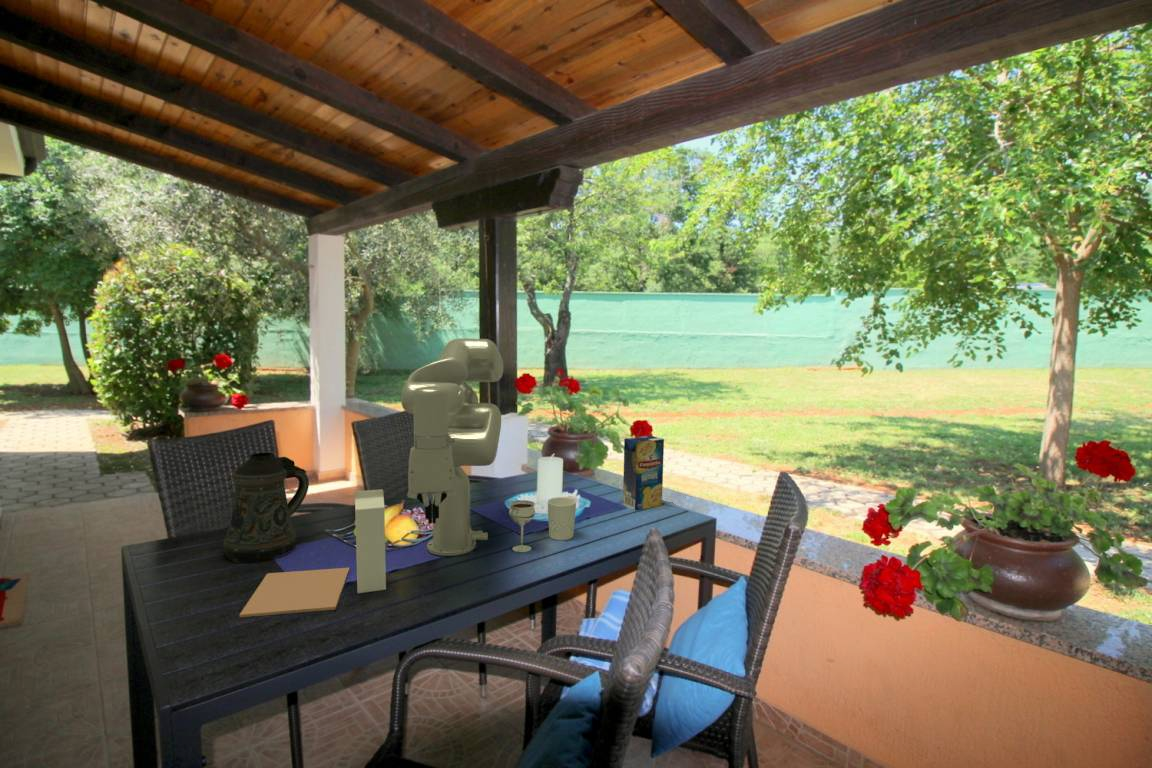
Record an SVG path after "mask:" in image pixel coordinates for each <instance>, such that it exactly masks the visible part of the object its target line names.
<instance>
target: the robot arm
mask: <svg viewBox="0 0 1152 768" xmlns="http://www.w3.org/2000/svg"><path fill="white" fill-rule="evenodd" d="M503 361H504V360H503V358H502V355H501V353H500V351H499V348H498V347H497V345H496V343H495V342H494V341H492V340H491V339H488V338H454V339H452V340H450V341H448V342H447V343H446V345H445V346H444V348H443V350H442V352H441V353H440V356H439V358H438V359H437V360H435V361H433V362H431V363H429V364H427V365H423V366H422V367H419V368H418V369H416V370H414V371H412V373H411V374H409V376H408V378H407V379H406V381H405V383H404V385H403V388H402V390H401V394H400V403H401V407H402V408H403V410H404V411H405V412H406V413H407V414H411V415H413V446H412V447H411V448H410V451H409V457H408V471H407V472H408V479H407V481H408V482H407V484H408V485H407V486H408V490H407V494H406V496H407V497H408V498H410V499H413V500H414V499H416V500H418V501H419V502H420V503H422V504H423V506H424V509H425V511H424V514H425V518H424V519H425V520H428V524H429V525H430V524H432V539H431V540H429V541H428V542H427V545H426V549H427V551H428V552H429V553H431V554H433V555H436V556H442V557H455V556H460V555H461V556H462V555H465V554H468V553H470V552H472V551H474V549H476V547H477V542H476V541H488V540H489V538H488V537H489V536H488V532H483V530H477V531H476V530H475V531H474V529H473V530H472V525H471V485H470V483H471V482H470V479H469V476H468V475H467V473H466V471H465V470H464V469H463V468H462V467H464V466H465V467H485V466H487V467H488V466H490V465H492V464H493V463H494V462H495V460H496V458H497V453H498V448H499V443H500V442H499V441H500V435H501V428H502V413H501V411H500V408H499V407H498V406H497V405H496V404H493V403H490V402H489V403H488V402H479V397H478V394H477V393H476V391H475V390H474V389H473V388H472V387H471V385H469V384H468V383H471V382H472V383H495V382H498V381H500V379H501V378H502V377H503V374H504V362H503ZM430 494H432V501H431V500H430Z"/></svg>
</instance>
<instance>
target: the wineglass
mask: <svg viewBox="0 0 1152 768" xmlns="http://www.w3.org/2000/svg"><path fill="white" fill-rule="evenodd" d="M508 505H509V507H510V508H509V510H508V514H509V517H510V519H511V520H512V521H513V522H514V523H516V524H518V525H519V526H520V544H519V545H515V546H513V547H512V550H513V551H514V552H518V553H527V552H529V551H531V550H532V547H531V546H530V545H526V544H523V543H524V542H523V541H524V526H525V525H526V524H527V523H530V522H531V521H532V520H533V518H534V517H535V514H536V513H535V512H536V510H535V507H534V506H535V505H536V504H535V502H534V501H532V500H531V501H530V500H526V499H525V500H523V499H521V500H519V499H518V500H514V501H511V502H510V503H509V504H508Z"/></svg>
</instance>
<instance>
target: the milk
mask: <svg viewBox="0 0 1152 768" xmlns="http://www.w3.org/2000/svg"><path fill="white" fill-rule="evenodd" d="M384 495H385V494H384V489H382V488H381V489H372V490H371V489H370V490H368V489H367V490H359V491H355V492H354V504H355V505H354V507H355V508H354V509H355V512H354V514H355V546H356V547H355V551H356V552H355V553H356V583H357V584H356V586H357V587H356V588H357V594H365V593H370V592H379V591H384V590H385V591H386V589H387V579H386V578H387V576H386V573H387V571H386V527H385V526H386V521H385V520H386V519H385V516H386V515H385V498H384Z"/></svg>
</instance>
